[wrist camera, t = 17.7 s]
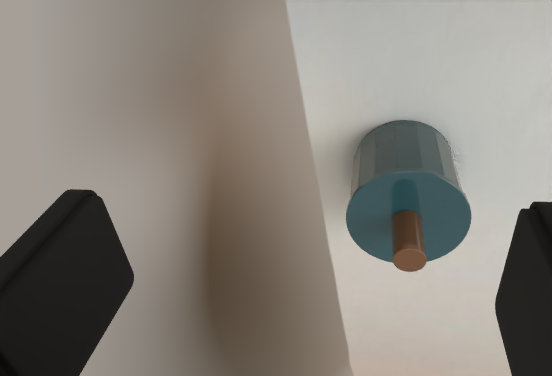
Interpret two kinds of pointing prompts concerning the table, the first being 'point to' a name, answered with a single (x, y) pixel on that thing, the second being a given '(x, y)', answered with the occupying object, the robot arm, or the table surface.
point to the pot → (402, 151)
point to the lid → (408, 216)
